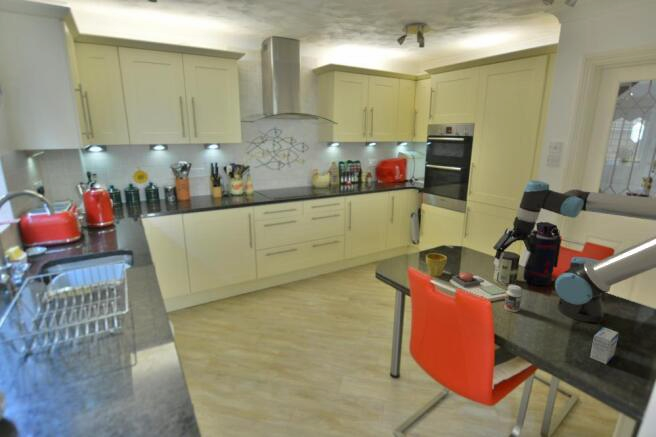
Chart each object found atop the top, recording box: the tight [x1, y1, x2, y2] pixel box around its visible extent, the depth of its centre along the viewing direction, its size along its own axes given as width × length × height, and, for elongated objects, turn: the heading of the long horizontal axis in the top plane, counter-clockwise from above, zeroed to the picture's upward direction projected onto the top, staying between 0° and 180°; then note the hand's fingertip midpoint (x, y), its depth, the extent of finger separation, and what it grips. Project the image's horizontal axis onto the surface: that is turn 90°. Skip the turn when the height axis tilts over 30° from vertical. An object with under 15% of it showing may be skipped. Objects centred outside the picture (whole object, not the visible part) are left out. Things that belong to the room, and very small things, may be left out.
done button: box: [459, 271, 474, 282], centre depth 163 cm, size 6×6×2 cm
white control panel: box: [449, 274, 507, 302], centre depth 159 cm, size 22×16×4 cm
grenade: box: [522, 221, 562, 287], centre depth 164 cm, size 14×12×30 cm
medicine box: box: [590, 327, 620, 365], centre depth 111 cm, size 8×4×9 cm, turn 126°
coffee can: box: [493, 250, 521, 286], centre depth 167 cm, size 10×10×14 cm
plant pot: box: [425, 253, 448, 278], centre depth 176 cm, size 10×10×10 cm
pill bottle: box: [503, 284, 522, 313], centre depth 141 cm, size 6×6×10 cm
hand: (509, 264), depth 144 cm, fingers open, 13 cm apart
